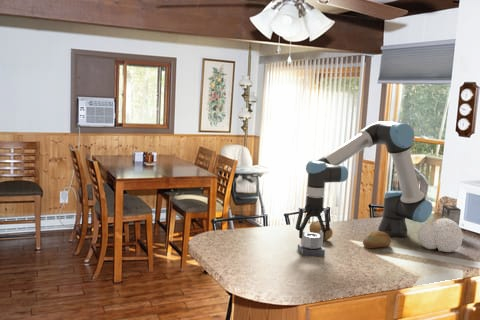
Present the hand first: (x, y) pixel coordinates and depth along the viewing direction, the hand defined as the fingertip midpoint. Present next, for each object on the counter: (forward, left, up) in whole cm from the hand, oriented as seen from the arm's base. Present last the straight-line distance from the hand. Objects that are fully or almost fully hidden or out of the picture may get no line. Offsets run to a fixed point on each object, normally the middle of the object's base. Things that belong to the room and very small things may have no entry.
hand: (311, 245), depth 215 cm
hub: (0, 0, 0) cm, 0 cm away
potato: (-11, -21, -4) cm, 24 cm away
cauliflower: (-65, -6, -4) cm, 66 cm away
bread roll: (-36, -10, -4) cm, 38 cm away
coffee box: (-85, -30, -4) cm, 90 cm away
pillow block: (0, 0, -4) cm, 4 cm away
